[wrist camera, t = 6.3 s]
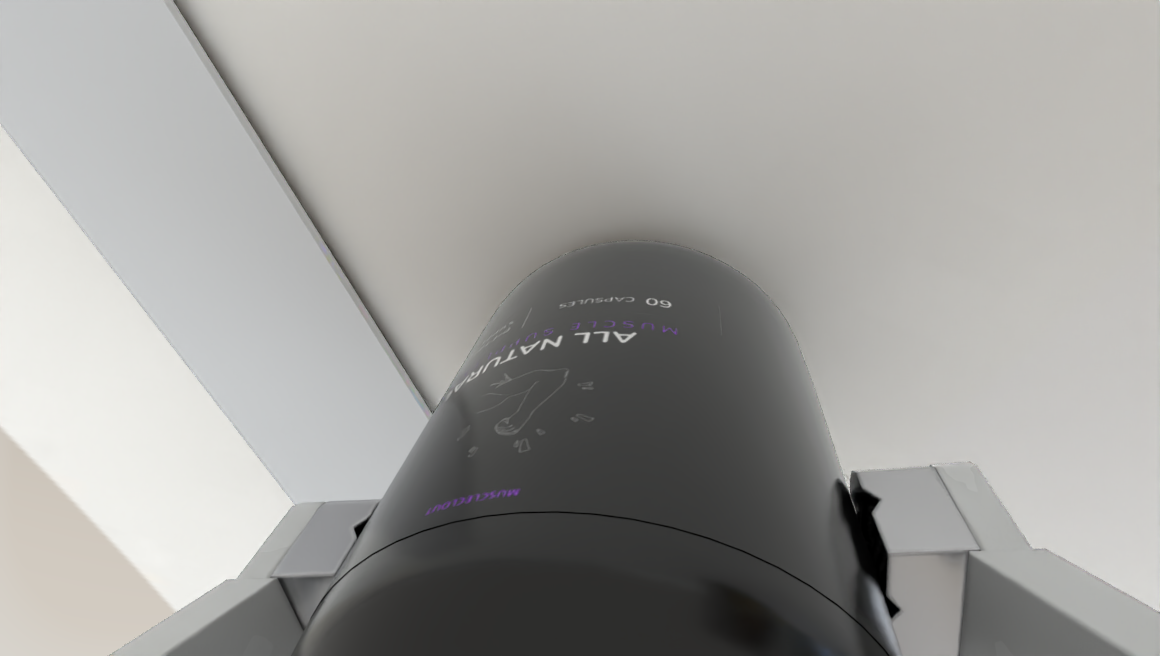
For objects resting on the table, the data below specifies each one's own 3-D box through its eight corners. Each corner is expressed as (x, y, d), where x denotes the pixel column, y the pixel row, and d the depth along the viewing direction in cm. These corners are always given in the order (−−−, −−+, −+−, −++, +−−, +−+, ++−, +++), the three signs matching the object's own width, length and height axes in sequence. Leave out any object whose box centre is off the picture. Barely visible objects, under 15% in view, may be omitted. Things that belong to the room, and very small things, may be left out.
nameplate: (-24, -319, 11) (-201, -162, 12) (-44, -328, 11) (-225, -166, 12) (538, 580, 19) (393, 617, 20) (536, 590, 19) (389, 627, 20)
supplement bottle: (580, 161, 12) (-30, 1203, 2) (872, 345, 13) (1728, 1812, 2) (429, 415, 15) (-134, 1368, 5) (676, 551, 16) (683, 1621, 5)
